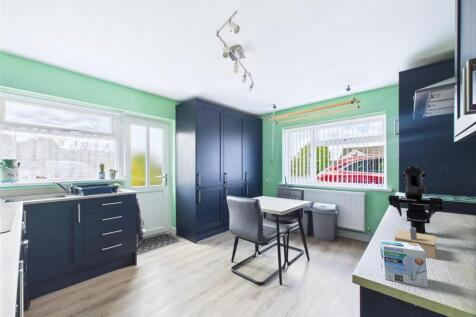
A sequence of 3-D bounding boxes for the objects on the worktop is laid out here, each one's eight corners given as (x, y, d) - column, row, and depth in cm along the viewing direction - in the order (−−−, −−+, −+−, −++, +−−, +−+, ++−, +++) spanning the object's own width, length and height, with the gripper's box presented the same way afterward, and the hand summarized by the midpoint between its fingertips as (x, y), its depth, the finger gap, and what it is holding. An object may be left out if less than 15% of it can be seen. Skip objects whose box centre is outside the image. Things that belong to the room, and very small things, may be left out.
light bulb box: (384, 280, 62) (382, 245, 63) (381, 270, 68) (378, 238, 69) (429, 288, 57) (426, 251, 58) (421, 277, 63) (418, 243, 64)
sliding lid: (398, 231, 92) (397, 220, 92) (435, 237, 83) (434, 225, 84) (394, 238, 84) (393, 226, 84) (435, 245, 75) (434, 232, 75)
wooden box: (400, 242, 92) (399, 232, 92) (436, 249, 83) (435, 238, 83) (396, 250, 83) (395, 238, 84) (435, 259, 75) (434, 246, 75)
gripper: (387, 179, 98) (384, 204, 89) (440, 179, 84) (443, 210, 76) (391, 192, 103) (389, 218, 95) (442, 195, 89) (445, 225, 81)
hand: (414, 217), depth 86 cm, fingers open, 9 cm apart
